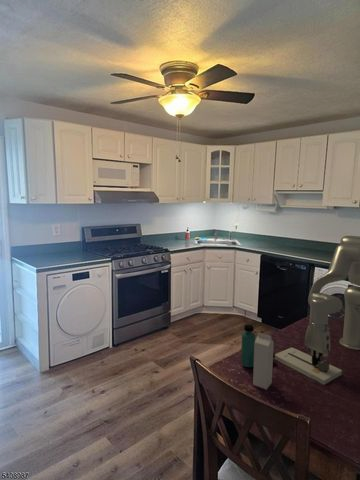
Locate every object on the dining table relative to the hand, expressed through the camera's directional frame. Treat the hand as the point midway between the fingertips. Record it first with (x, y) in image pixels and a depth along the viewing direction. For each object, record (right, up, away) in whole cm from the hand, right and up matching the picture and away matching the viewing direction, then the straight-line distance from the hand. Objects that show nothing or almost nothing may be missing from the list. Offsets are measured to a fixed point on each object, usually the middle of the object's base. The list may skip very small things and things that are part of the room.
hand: (315, 364), depth 142 cm
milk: (-27, -5, -10) cm, 29 cm away
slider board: (-3, -3, +4) cm, 5 cm away
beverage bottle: (-30, -3, +3) cm, 30 cm away
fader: (+2, -1, -3) cm, 4 cm away
